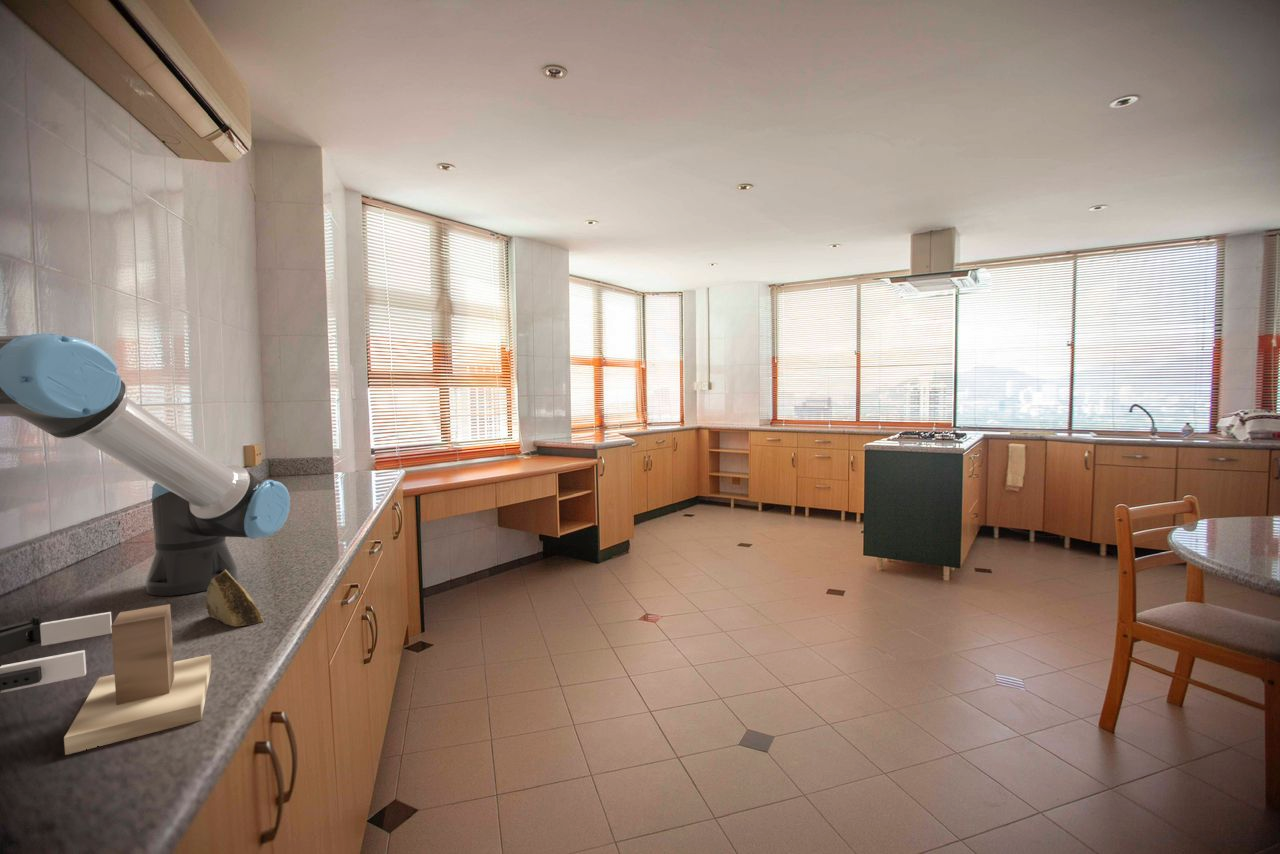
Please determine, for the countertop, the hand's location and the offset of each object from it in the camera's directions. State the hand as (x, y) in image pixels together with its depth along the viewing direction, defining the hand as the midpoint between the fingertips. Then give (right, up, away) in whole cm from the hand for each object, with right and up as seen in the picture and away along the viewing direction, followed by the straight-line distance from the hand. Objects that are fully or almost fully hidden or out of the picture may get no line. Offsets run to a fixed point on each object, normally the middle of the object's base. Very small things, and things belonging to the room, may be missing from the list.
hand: (99, 640), depth 70 cm
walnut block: (+3, -8, +3) cm, 9 cm away
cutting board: (+3, -10, +3) cm, 11 cm away
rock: (-6, -8, +31) cm, 33 cm away
